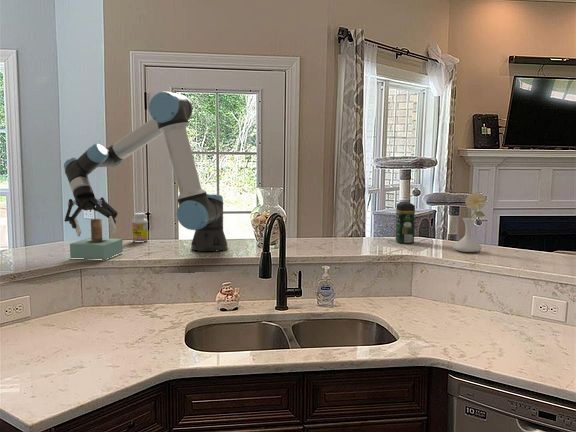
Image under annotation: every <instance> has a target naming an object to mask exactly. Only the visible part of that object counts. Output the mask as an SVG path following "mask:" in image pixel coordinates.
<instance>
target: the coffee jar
mask: <svg viewBox="0 0 576 432" xmlns="http://www.w3.org/2000/svg"><path fill="white" fill-rule="evenodd" d="M395 210H396V212H395V213H396V214H395V215H396V216H395V241H396V242H397V243H398V244H404V245H409V244H414V242H415V216H416V215H415V213H416V205H414V204H413V203H410V202H409V201H400V202H398V203H397V204H396V209H395Z"/></svg>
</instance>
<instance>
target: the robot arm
mask: <svg viewBox="0 0 576 432" xmlns="http://www.w3.org/2000/svg"><path fill="white" fill-rule="evenodd" d="M148 104H149V105H148V112H149V115H150V117H151V118H150V119H149V120H148V121H146V122H145V123H143V124H142V125H140V126H139V127H137V128H135V129H134V130H132V131H131V132H130V133H128V134H127V135H125V136H123V137H122V138H120V139H119V140H117V141H116V142H114V143H113V144H112V145H109V147H107V148H105V146H103V145H101V144H100V143H94V144H92V145H91V146H90V147H88V148H87V150H85V152H83V153H82V154H81V155H80V156H79V157H71V158H70V159H66V160H65V162H64V164H63V170H64V173H65V177H66V178H67V181H68V183H69V186H70V189H71V192H72V196H73V198H74V200H73V199H72V198H69V199H68V202H67V205H68V206H67V207H68V208H67V210H66V215H65V217H64V222H66V223H67V222H68V223H69V224H70V226H71V228H72V229H74V230H75V233H76V235H77V237H81V235H82V230H81V228H80V224H79V221H78V218H77V217H78V216H79V214H80V213H81V212H82V210H83V211H92V210H93V211H94V212H98V213H99V214H101V215H102V216H104V217H106V218H107V222H108V224H109V227H110V228H111V232H112V233H113V234H115V233H116V231H117V226H116V223H117V221H116V218H117V217H118V214H119V213H118V212H117V210H115V209H114V208H113V207H112V206H111V205H110V204H109V203H108V202H107V200H105V198H104V197H102V196H101V197H100V198H99V199H98V198H96V196H95V193H94V190H93V188H92V185H91V182H90V180H89V175H90V174H91V173H92V172H94V171H95V170H96V169H97V168H106V167H107V168H110V167H111V168H114V167H118V166H119V165H121V164H122V162H123V160H125V159H126V158H128V157H129V156H131V155H132V154H134V153H135V152H137V151H138V150H140V149H142V148H143V147H145V146H146V145H147V144H150V143H152V141H154V140H156V139H157V138H159V137H160V136H162V135H163V134H164V138H165V139H164V140H165V143H166V147H167V150H168V154H169V158H170V161H171V165H172V169H173V172H174V176H175V181H176V184H177V188H178V192H179V194H178V196H177V198H176V199H177V200H176V201H177V203H178V208H177V210H176V218H177V220H178V221H177V222H179V224H180V226H182V227H183V228H185V229H187V230H190V231H194V234H193V237H192V239H191V245H190V247H191V248H190V249H191V250H192V249H193V250H192V251H194V250H198V251H197V252H199V251H216V250H223V251H225V250H224V249H226V250H228V245H229V244H228V241H227V237H226V235H225V231H224V198H223V195H221V194H213V193H209V194H208V193H207V191H206V190H205V189H202V186H201V182H200V178H199V174H198V170H197V166H196V163H195V159H194V155H193V152H192V148H191V143H190V140H189V135H188V132H187V127H188V126H189V121H190V119H191V117H192V115H193V111H194V110H193V104H192V103H191V101H190V99H189V98H188V97H186V96H185V95H182V94H179V93H174V92H173V91H172V92H171V91H160V92H158V93H156V94H154V96H152V98H151V99H150V101H149V103H148ZM75 205H76V206H77V207H76V210H75V211H74V212H73V213H72V215H71V216H70V214H71V211H72V210H73V209H72V208H73V207H74V206H75ZM216 252H217V251H216Z"/></svg>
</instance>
